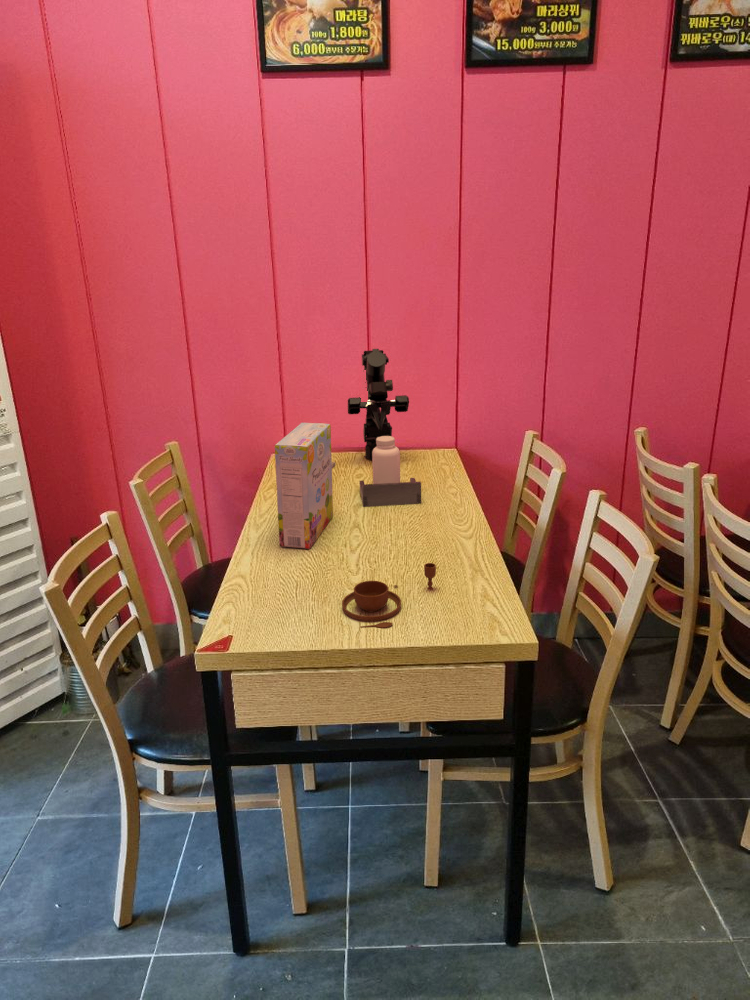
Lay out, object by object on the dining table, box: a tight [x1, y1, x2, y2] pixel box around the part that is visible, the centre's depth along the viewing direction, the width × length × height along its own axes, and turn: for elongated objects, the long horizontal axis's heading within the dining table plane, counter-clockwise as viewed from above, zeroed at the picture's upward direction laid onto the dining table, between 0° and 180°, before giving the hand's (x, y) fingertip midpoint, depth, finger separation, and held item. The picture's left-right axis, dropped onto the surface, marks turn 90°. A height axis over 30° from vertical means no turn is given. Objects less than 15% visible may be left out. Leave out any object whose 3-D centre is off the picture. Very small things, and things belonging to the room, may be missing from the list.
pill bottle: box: [372, 435, 401, 484], centre depth 214 cm, size 8×8×15 cm
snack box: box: [274, 422, 334, 550], centre depth 183 cm, size 22×9×26 cm, turn 168°
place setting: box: [341, 562, 437, 629], centre depth 150 cm, size 18×20×6 cm
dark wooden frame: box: [359, 477, 422, 508], centre depth 208 cm, size 13×16×6 cm
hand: (380, 428), depth 226 cm, fingers closed
